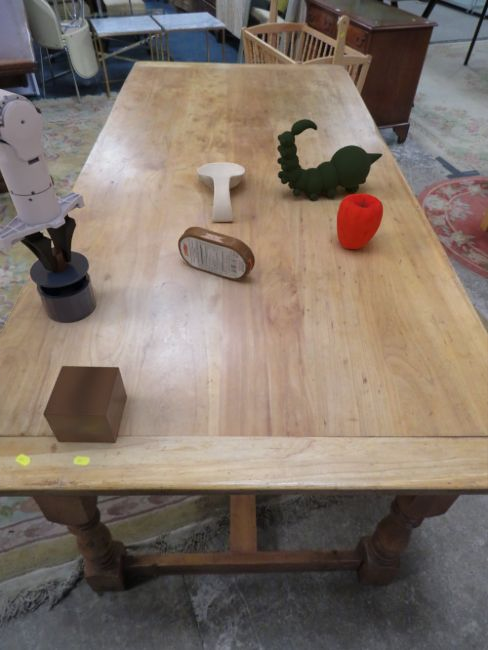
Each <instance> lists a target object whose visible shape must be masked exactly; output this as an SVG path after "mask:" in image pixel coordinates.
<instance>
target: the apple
mask: <svg viewBox="0 0 488 650" xmlns="http://www.w3.org/2000/svg"><path fill="white" fill-rule="evenodd" d="M383 216H384V205H383V202H382V201H381V200H380V199H379V198H377V197H376V196H374V195H372V194H370V193H369V194H368V193H364V192H363V193H350V194H348V195H346V196H344V197H343V198H342V200H341V202H340V203H339V205H338V210H337V214H336V235H337V238H338V242H339V245H340V246H341V247H343V248H344V249H347V250H359V249H361V248H363V247H365V246H366V245H367V244H368V243H369V242H371V240H372V239H373V238H374V237H375V235H376V233H377V232H378V230H379V228H380V226H381V223H382V219H383Z"/></svg>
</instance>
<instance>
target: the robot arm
mask: <svg viewBox="0 0 488 650" xmlns="http://www.w3.org/2000/svg"><path fill="white" fill-rule="evenodd" d="M43 131H44V117H43V114H42V113H39V112H38V111H37V108H36V106H35V104H33V102H32V101H31V100H30V99H28V98H27V97H25V96H24V95H21V94H17V93H15V92H11V91H9V90H5V89H1V88H0V172H1V176H2V177H3V180H4V182H5V185H6V188H7V190H8V193H9V195H10V198H11V201H12V203H13V205H14V208H15V211H16V213H17V215H16V216H15V217H14V218H13V219H11V220H10V221H9V223H7V224H6V225H5V226H4V227H3V228H2V229H1V230H0V249H1V250H3V251H5V252H9V251H11V250H13V249H14V245H16V244H18V243H22V244H23V245H24V246H25V247H26V248H27V249H28V250H29V251H31V252H32V254H34V256H35V257H36V258H37V260H38V259H39V260H40V262H41V263H42V265H43V266H44V268H45V269H46V270H49V271H51V272H53V273H54V272H56V271H57V266H56V263H55V260H54V257H53V253H52V246H53V247H59V248H61V249H62V251H63V254H64V257H65V260H66V262H68V263H69V262H70V261H71V251H72V242H73V236H74V234H75V230H76V228H77V222H76V219H74V218H73V217H70V216H69V213H70V212H72V211H74V210H75V209H82V208H84V207H85V206H86V204H85V201H84V197H83V194H81V193H78V192H75V191H71V192H69V193H66V194H64V195H61V196H59V197H57V193H56V190H55V187H54V184H53V180H52V177H51V173H50V170H49V167H48V164H47V161H46V158H45V154H44V151H43V150H44V147H43V143H42V134H43ZM44 230H46V232H47V233H48V236H49V237H47V236H46V235H44V233H43V232H41V231H44ZM52 244H53V245H52Z"/></svg>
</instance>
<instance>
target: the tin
mask: <svg viewBox="0 0 488 650" xmlns="http://www.w3.org/2000/svg"><path fill="white" fill-rule="evenodd" d="M177 247H178V252H179V254H180V256H181V258H182V259H183V260H184V262H186V264H188V265H189V266H190V267H192V268H194V269H196V270H199V271H203V272H206V273H209V274H211V275H214V276H218V277H221V278H223V279H227V280H231V281H242V280H243V279H245V278H246V277H247V276H248V275H249V274H250V272H251V271H252V270H253V269H254V268H255V265H256V258H255V255H254V253H253V251H252V249H251V248H250V246H248V244H246V243H245V242H244V241H243V240H241V239H239V238H237V237H234V236H231V235H227V234H225V233H220V232H218V231H214V230H210V229H207V228H204V227H200V226H191V227H188V228H186V229H185V230H184V232H183V234H181V236H180V237H179V239H178V242H177Z"/></svg>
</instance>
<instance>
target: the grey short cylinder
mask: <svg viewBox="0 0 488 650" xmlns="http://www.w3.org/2000/svg"><path fill="white" fill-rule="evenodd" d="M36 291H37V293H38V296H39V298H40V301H41V303H42V305H43V309H44V311H45V313H46V315H47V316H48V318H49V319H51V320H53V321H54V322H57V323H63V324H69V323H74V322H79V321H82V320H84V319H85V318H87V317H88V316H90V315H91V314H92V313H93V312H94V311H95V310H96V307H97V305H98V302H97V296H96V293H95V289H94V286H93V283H92V279H91V276H90V274H89V273H88V272H87V273H86V274H85V276H84V277H82V278H81V279H80V280H78V281H77V282H75V283H72V284H70V285H67V286H63V287H56V288H49V287H43V286H40V285H38V284H36Z"/></svg>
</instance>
